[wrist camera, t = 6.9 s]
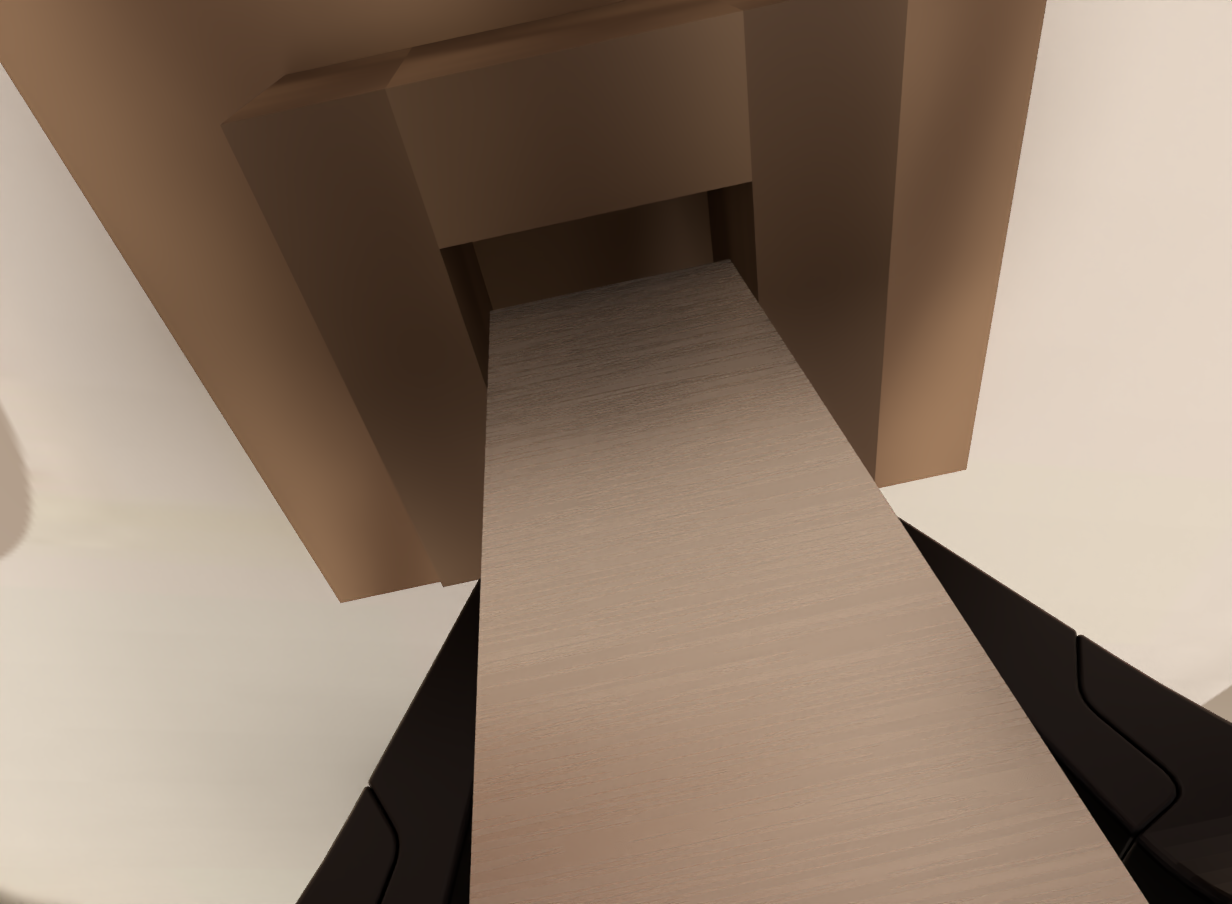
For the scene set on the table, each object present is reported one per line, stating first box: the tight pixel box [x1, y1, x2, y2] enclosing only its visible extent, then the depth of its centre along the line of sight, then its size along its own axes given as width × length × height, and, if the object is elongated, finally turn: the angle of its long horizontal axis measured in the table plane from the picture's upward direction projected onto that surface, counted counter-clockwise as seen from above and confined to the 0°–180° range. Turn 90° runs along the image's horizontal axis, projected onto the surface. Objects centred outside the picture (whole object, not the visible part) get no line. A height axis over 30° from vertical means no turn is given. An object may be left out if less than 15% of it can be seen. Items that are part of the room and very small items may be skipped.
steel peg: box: [469, 259, 1149, 904], centre depth 9 cm, size 4×4×10 cm
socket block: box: [0, 0, 1047, 603], centre depth 16 cm, size 20×18×6 cm
